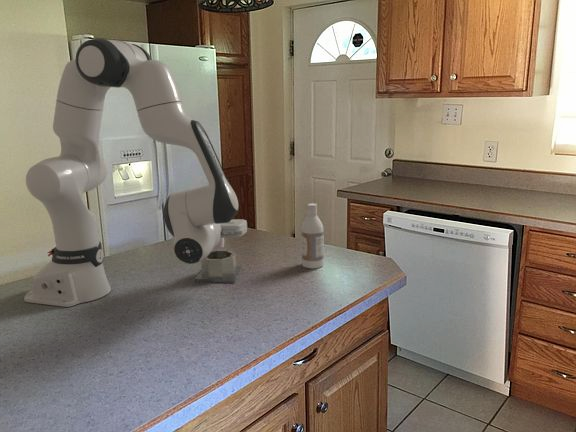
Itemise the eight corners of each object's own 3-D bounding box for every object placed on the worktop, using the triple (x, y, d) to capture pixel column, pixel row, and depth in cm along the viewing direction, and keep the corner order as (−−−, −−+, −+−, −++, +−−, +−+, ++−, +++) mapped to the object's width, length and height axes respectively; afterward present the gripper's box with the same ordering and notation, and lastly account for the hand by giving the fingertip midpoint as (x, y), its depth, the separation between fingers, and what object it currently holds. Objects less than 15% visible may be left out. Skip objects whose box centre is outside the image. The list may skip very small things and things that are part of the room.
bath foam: (298, 263, 160) (297, 203, 155) (317, 260, 162) (317, 201, 158) (307, 270, 154) (306, 207, 149) (327, 267, 156) (327, 205, 151)
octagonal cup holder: (194, 282, 146) (193, 261, 145) (205, 268, 158) (204, 248, 156) (234, 282, 145) (233, 261, 143) (242, 268, 156) (241, 249, 155)
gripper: (242, 222, 133) (251, 210, 146) (168, 222, 135) (183, 210, 148) (243, 244, 134) (252, 231, 148) (170, 244, 136) (185, 231, 150)
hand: (217, 220), depth 148 cm, fingers closed on smoothie, 6 cm apart
